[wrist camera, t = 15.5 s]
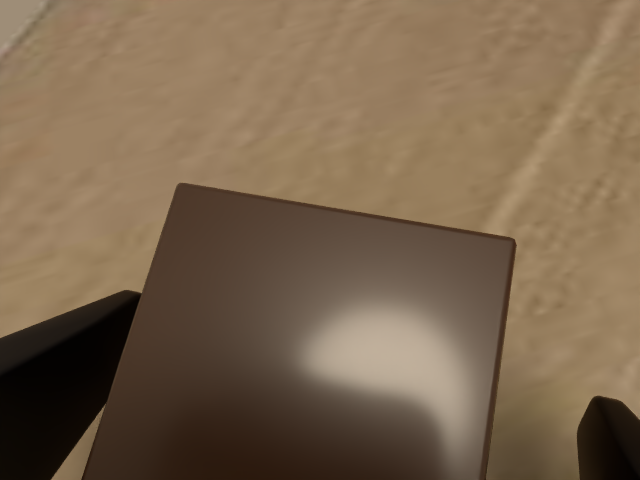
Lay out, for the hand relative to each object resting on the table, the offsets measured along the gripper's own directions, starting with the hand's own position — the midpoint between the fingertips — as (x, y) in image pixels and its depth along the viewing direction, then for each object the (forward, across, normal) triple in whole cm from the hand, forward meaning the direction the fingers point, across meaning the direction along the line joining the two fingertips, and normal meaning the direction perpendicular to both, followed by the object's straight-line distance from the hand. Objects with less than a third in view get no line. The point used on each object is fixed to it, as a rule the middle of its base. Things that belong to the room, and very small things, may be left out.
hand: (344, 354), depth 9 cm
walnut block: (+6, 0, +6) cm, 8 cm away
